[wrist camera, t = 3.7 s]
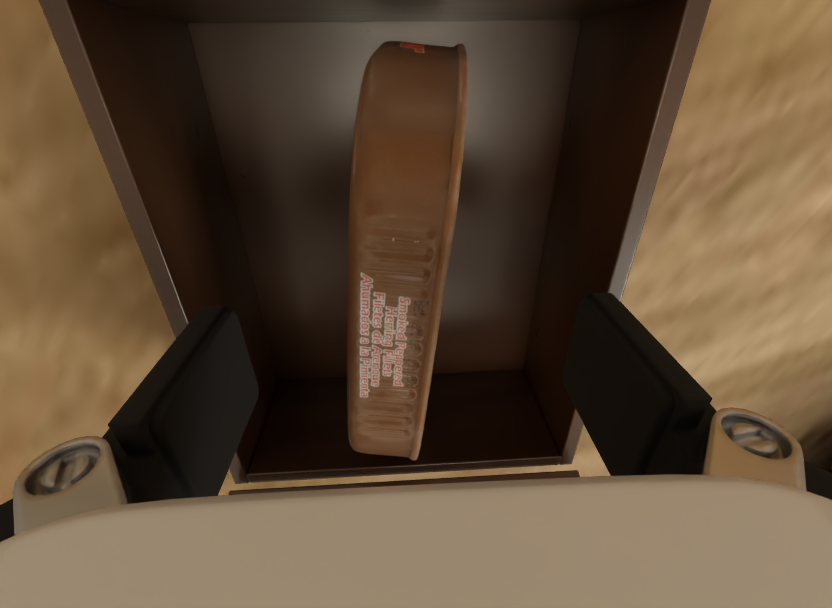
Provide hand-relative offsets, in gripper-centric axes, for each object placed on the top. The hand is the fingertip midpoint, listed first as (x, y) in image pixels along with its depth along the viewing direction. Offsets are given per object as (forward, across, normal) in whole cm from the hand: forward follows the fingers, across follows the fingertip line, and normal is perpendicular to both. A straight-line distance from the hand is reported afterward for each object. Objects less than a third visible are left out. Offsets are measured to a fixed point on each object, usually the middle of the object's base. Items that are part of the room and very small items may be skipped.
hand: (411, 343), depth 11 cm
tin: (+9, 0, 0) cm, 9 cm away
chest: (+9, 0, 0) cm, 9 cm away
